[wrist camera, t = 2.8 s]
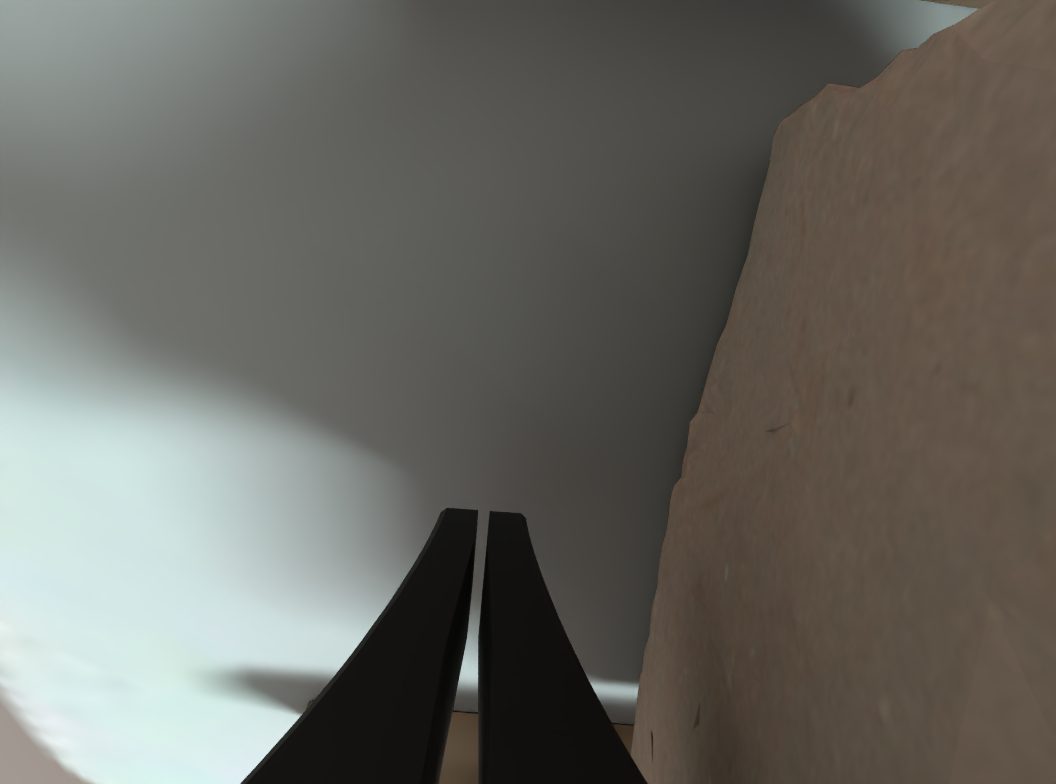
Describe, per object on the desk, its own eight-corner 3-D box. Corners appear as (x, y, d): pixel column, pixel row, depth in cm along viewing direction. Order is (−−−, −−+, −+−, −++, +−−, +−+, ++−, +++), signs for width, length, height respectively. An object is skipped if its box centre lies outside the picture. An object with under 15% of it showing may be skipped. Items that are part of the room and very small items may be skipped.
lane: (1578, -21, 6) (2306, -145, 4) (881, 764, 16) (949, 882, 14) (135, -241, 6) (-214, -591, 3) (313, 721, 16) (267, 838, 13)
